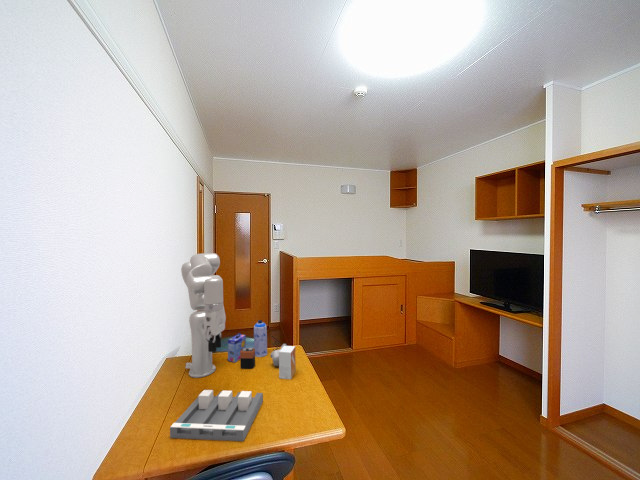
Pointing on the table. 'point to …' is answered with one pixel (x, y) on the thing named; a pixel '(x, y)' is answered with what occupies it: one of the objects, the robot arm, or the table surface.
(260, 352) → the aerosol can
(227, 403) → the switch tab middle
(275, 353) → the voltmeter
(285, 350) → the small box
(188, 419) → the switch panel
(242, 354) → the battery
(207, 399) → the switch tab left
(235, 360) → the ink cartridge box
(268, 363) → the table surface
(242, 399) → the switch tab right
